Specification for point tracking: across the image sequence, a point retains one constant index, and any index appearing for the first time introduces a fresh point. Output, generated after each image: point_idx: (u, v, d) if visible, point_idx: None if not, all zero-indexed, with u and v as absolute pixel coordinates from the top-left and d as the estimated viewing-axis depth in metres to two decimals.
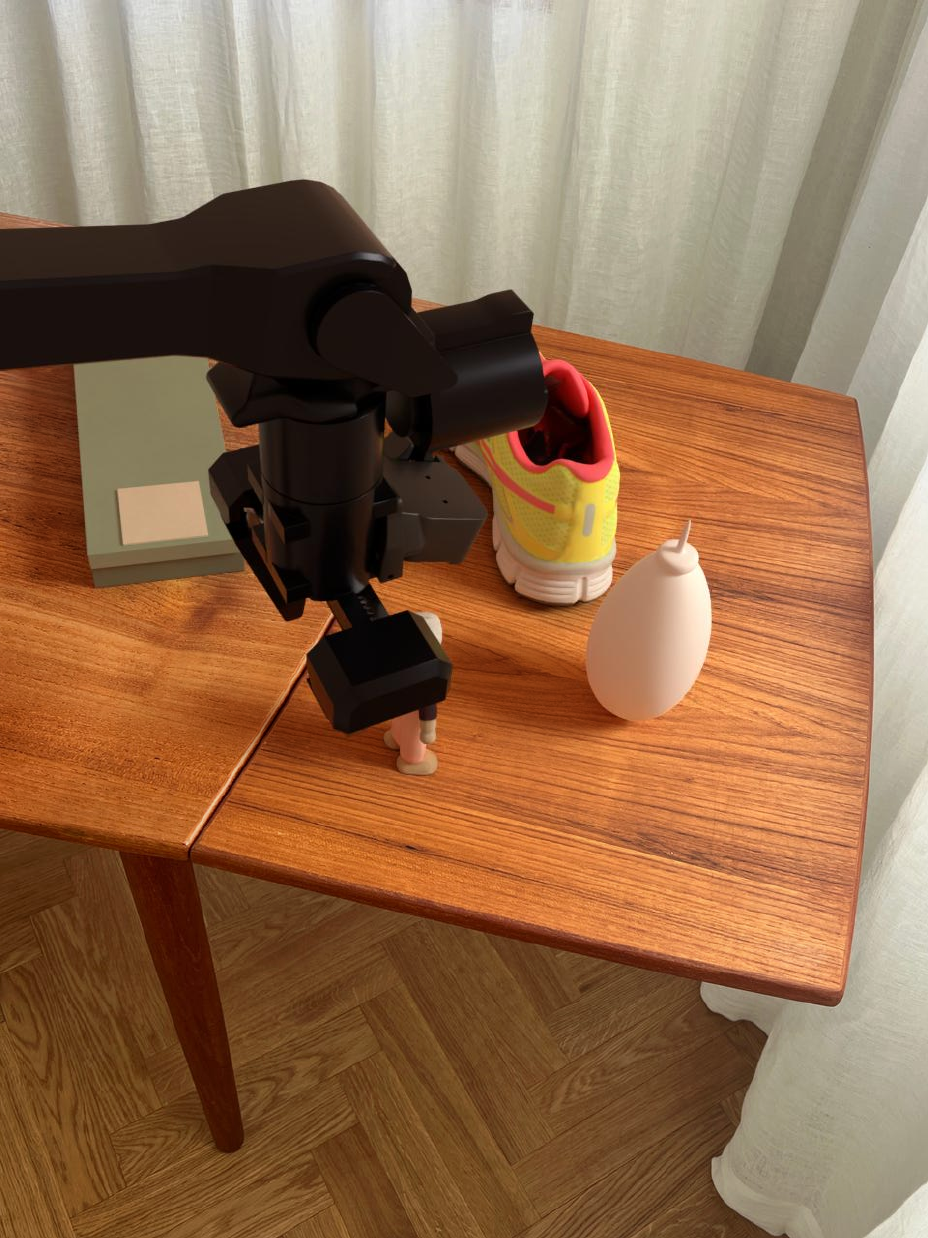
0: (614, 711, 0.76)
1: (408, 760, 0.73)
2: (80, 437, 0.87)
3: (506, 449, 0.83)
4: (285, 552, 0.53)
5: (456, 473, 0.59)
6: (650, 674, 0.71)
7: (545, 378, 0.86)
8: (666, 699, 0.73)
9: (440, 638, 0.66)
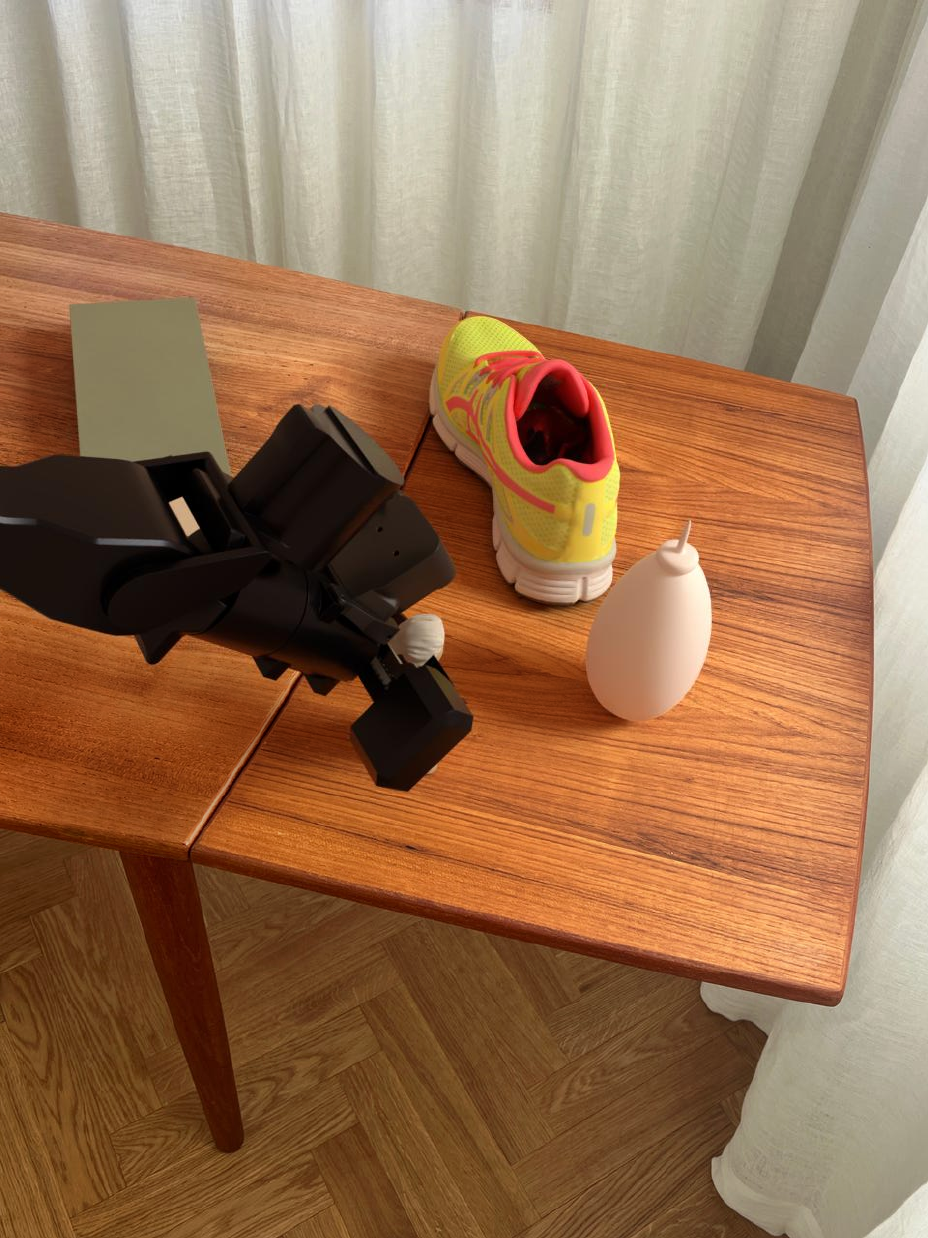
0: (614, 711, 0.76)
1: None
2: (80, 437, 0.87)
3: (506, 448, 0.83)
4: None
5: (408, 503, 0.60)
6: (650, 675, 0.71)
7: (545, 378, 0.86)
8: (666, 699, 0.73)
9: (442, 640, 0.66)
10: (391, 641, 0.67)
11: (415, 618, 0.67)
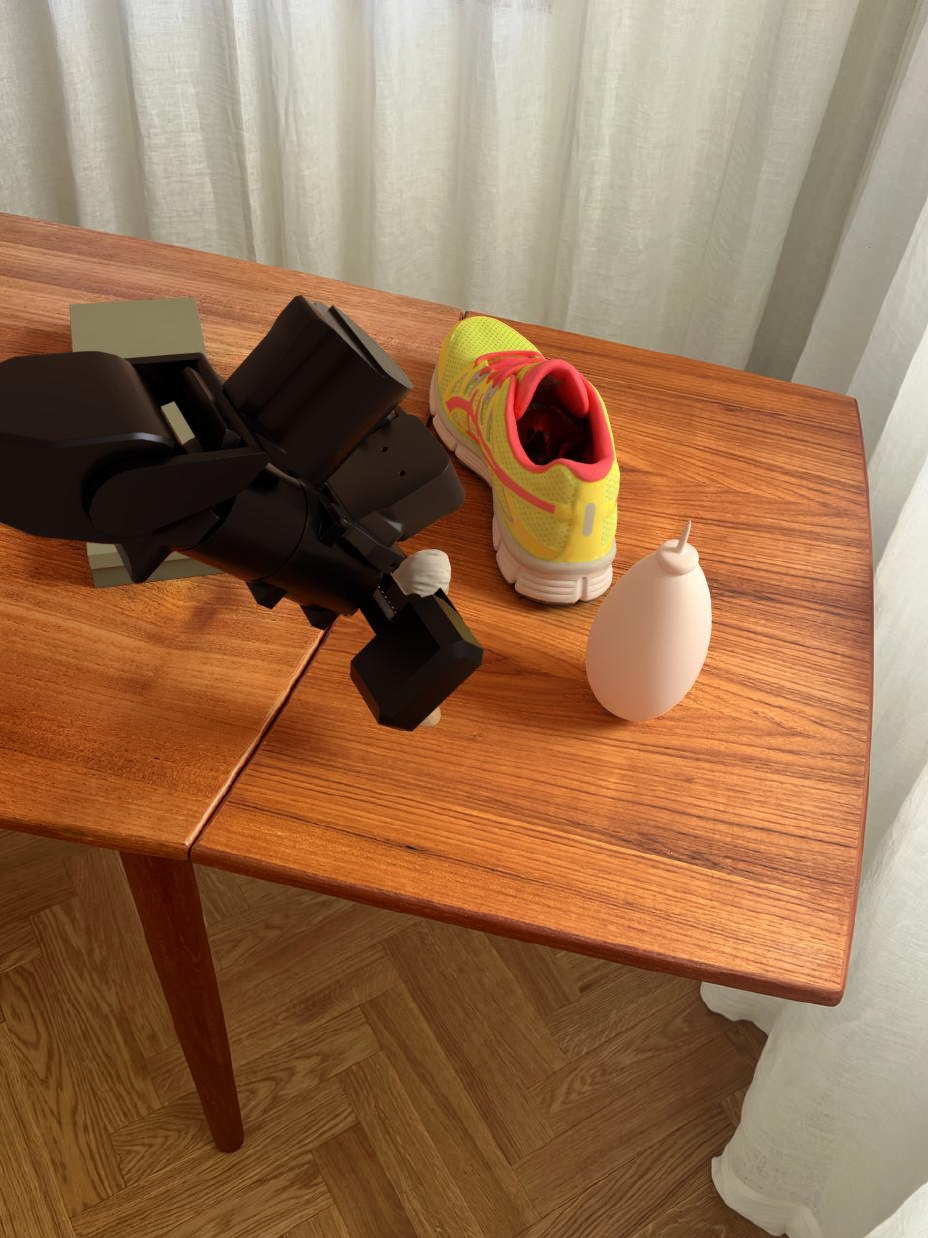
0: (614, 711, 0.76)
1: None
2: None
3: (506, 448, 0.83)
4: None
5: (415, 422, 0.56)
6: (650, 675, 0.71)
7: (545, 378, 0.86)
8: (666, 699, 0.73)
9: (449, 577, 0.62)
10: None
11: (420, 553, 0.62)
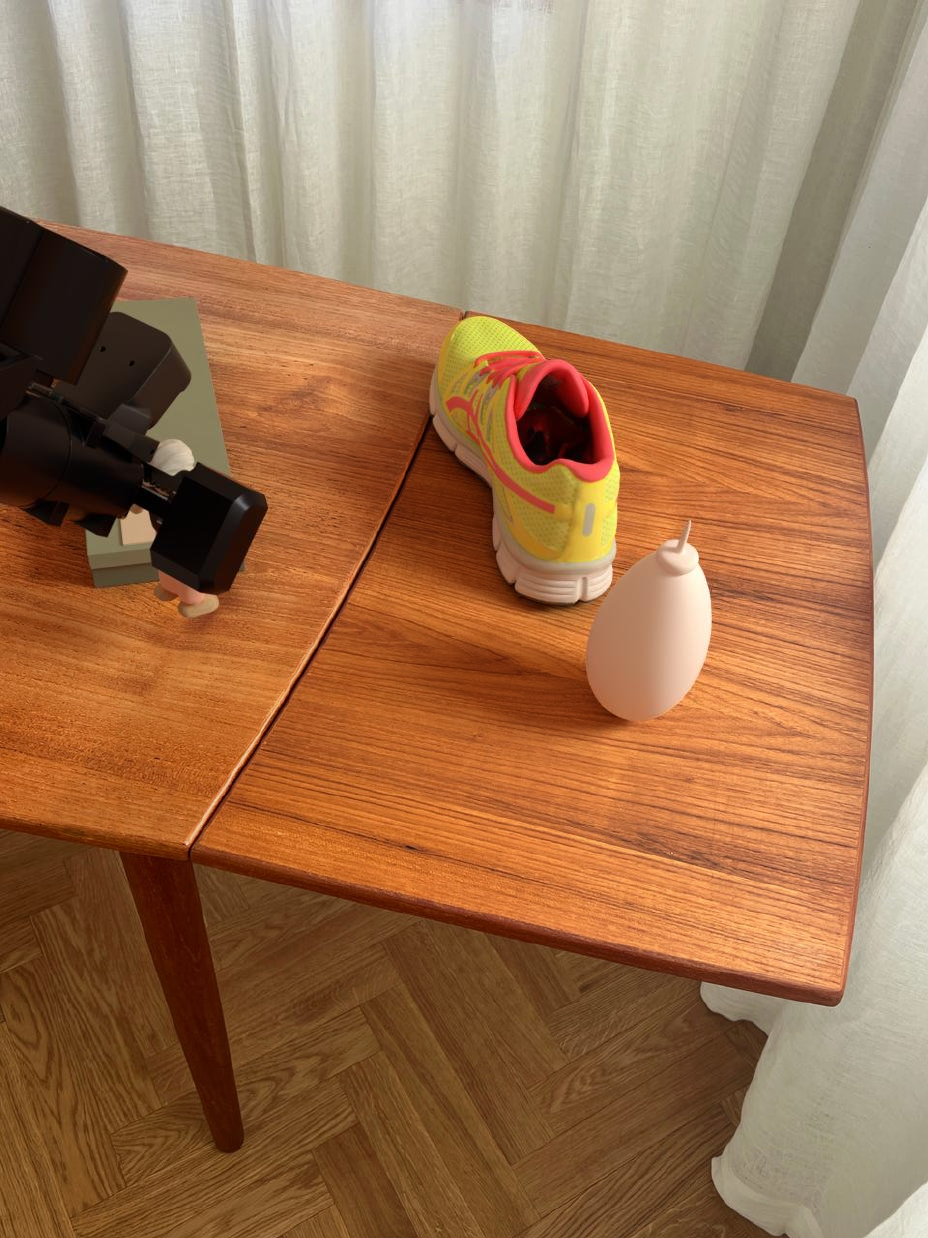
0: (614, 711, 0.76)
1: (191, 602, 0.73)
2: None
3: (506, 448, 0.83)
4: (68, 517, 0.59)
5: (120, 316, 0.59)
6: (650, 675, 0.71)
7: (545, 378, 0.86)
8: (666, 699, 0.73)
9: (192, 457, 0.66)
10: None
11: None
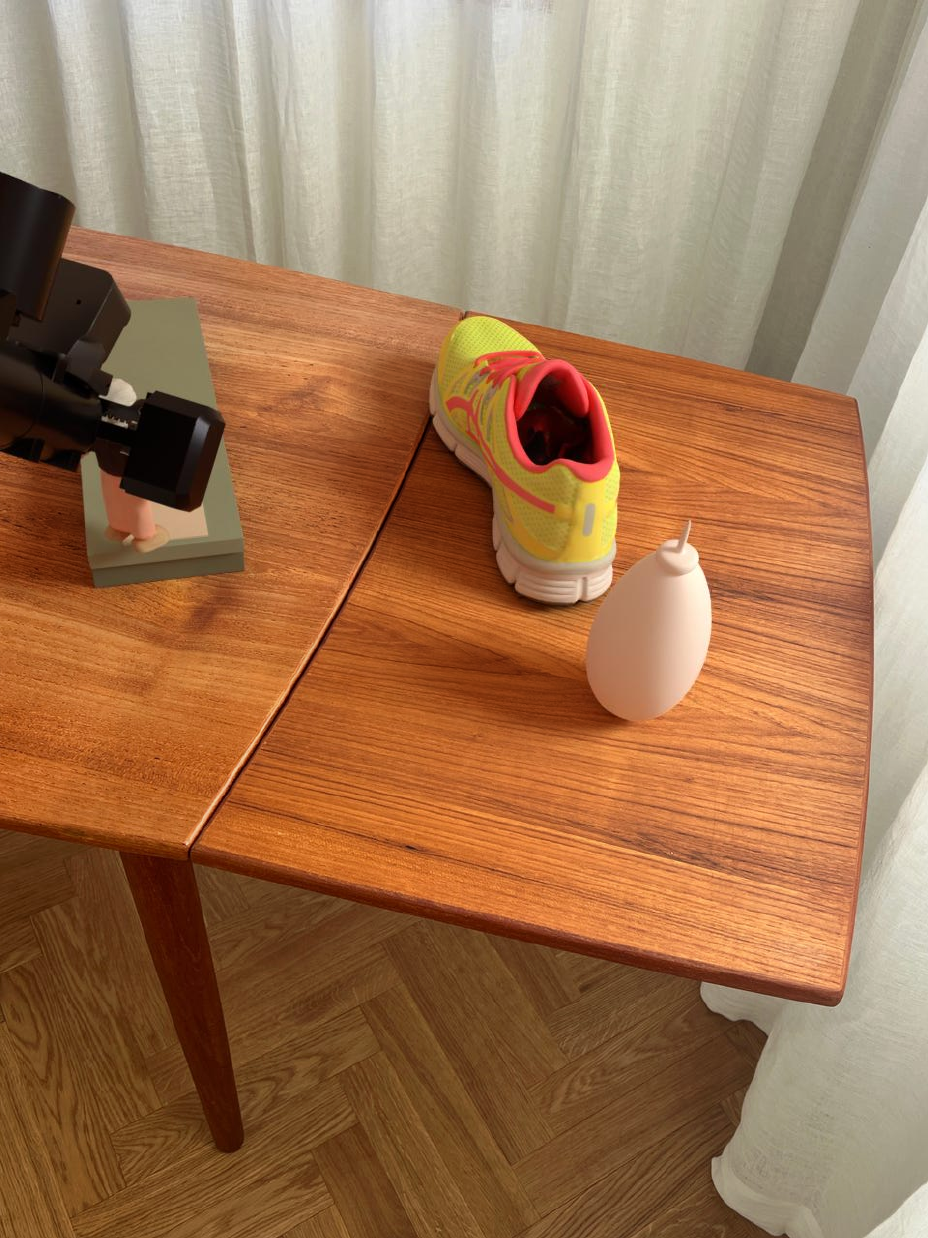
0: (614, 711, 0.76)
1: (145, 537, 0.76)
2: None
3: (506, 448, 0.83)
4: None
5: None
6: (650, 675, 0.71)
7: (545, 378, 0.86)
8: (666, 699, 0.73)
9: None
10: None
11: None
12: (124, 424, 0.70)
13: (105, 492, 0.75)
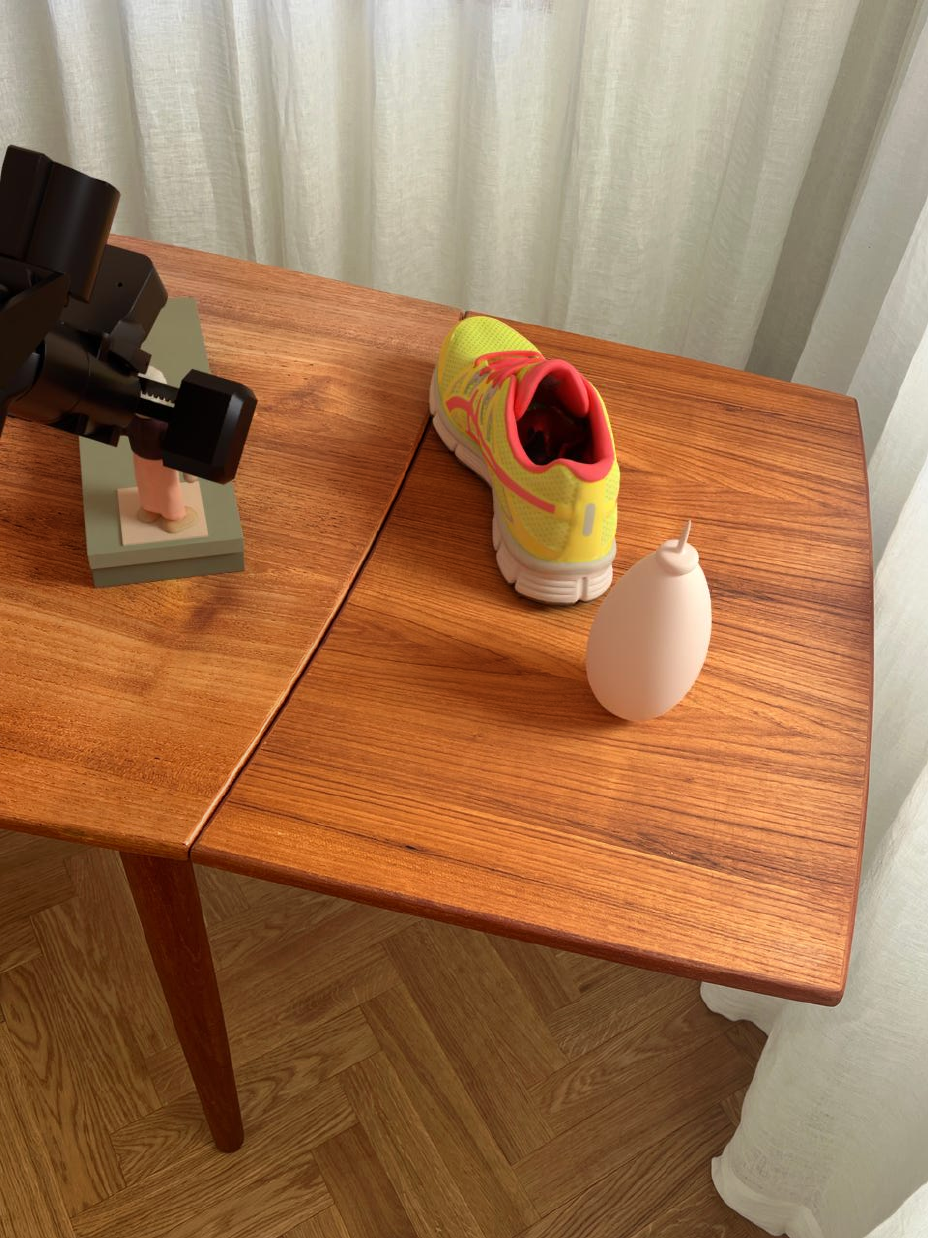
0: (614, 711, 0.76)
1: (175, 517, 0.80)
2: (80, 437, 0.87)
3: (506, 448, 0.83)
4: None
5: None
6: (650, 675, 0.71)
7: (545, 378, 0.86)
8: (666, 699, 0.73)
9: (165, 379, 0.73)
10: None
11: None
12: None
13: (137, 475, 0.79)
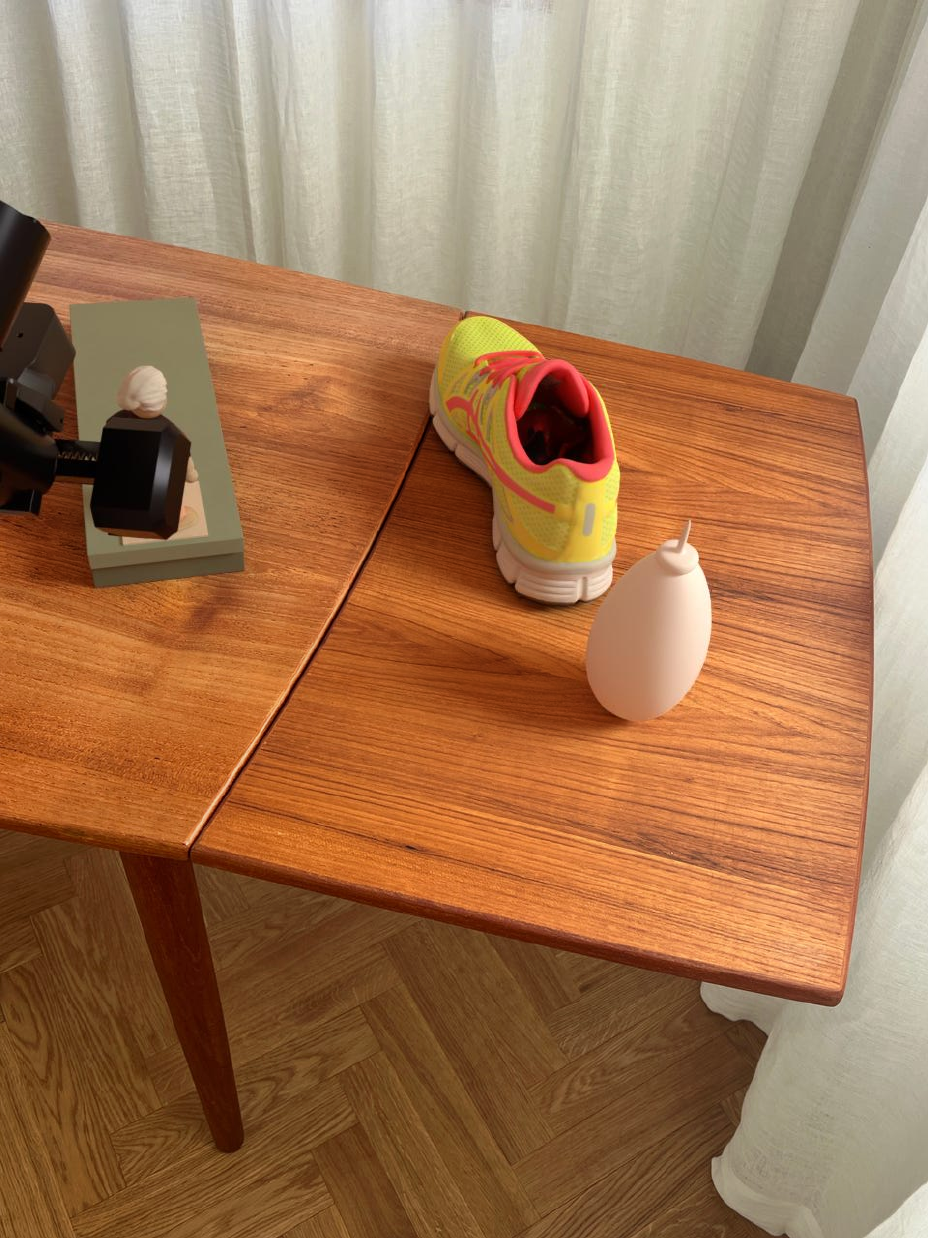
0: (614, 711, 0.76)
1: None
2: (80, 437, 0.87)
3: (506, 448, 0.83)
4: None
5: None
6: (650, 675, 0.71)
7: (545, 378, 0.86)
8: (666, 699, 0.73)
9: (165, 379, 0.73)
10: (122, 402, 0.73)
11: (131, 373, 0.73)
12: (155, 409, 0.73)
13: None
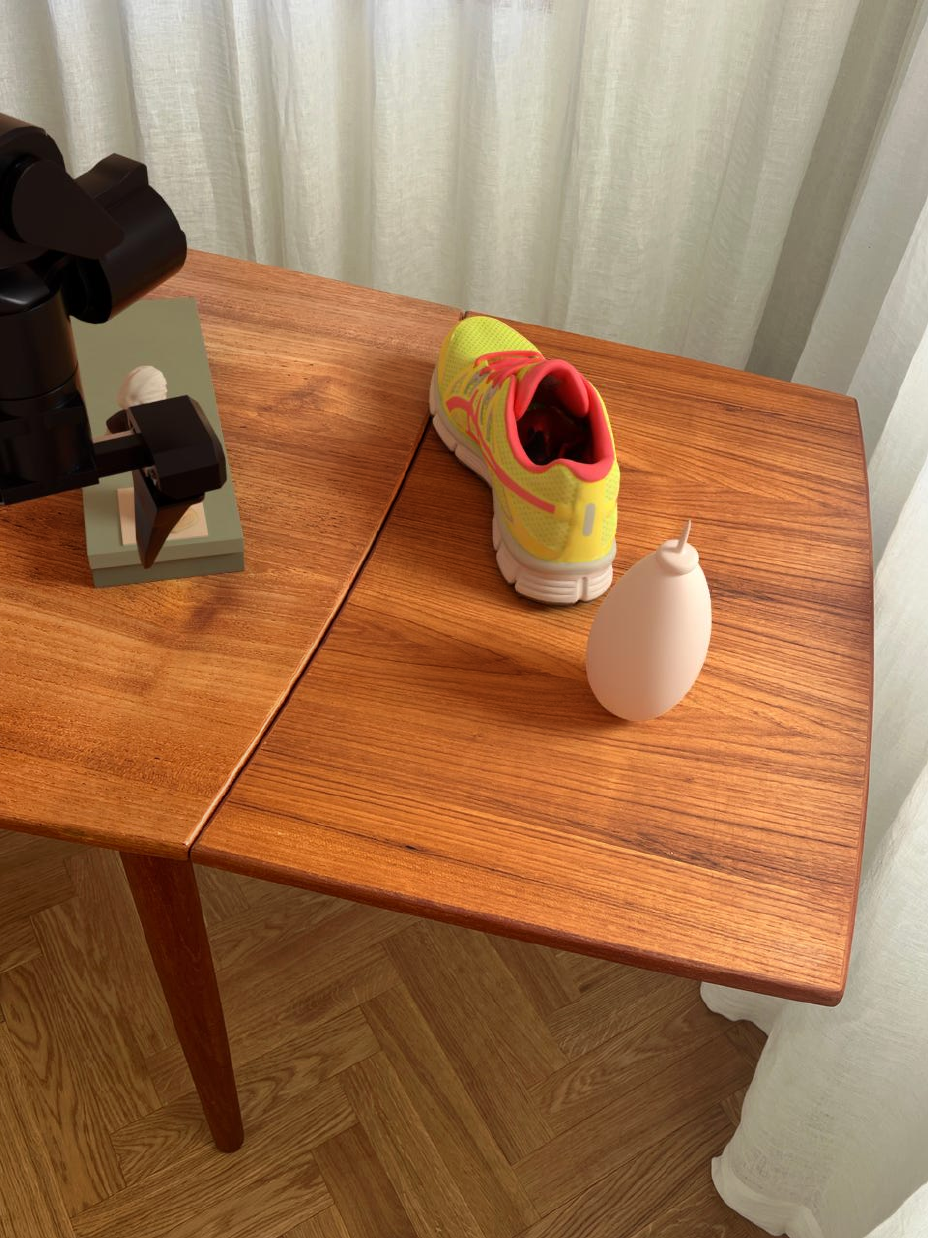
0: (614, 711, 0.76)
1: None
2: None
3: (506, 448, 0.83)
4: (71, 446, 0.56)
5: None
6: (650, 675, 0.71)
7: (545, 378, 0.86)
8: (666, 699, 0.73)
9: (165, 379, 0.73)
10: (122, 402, 0.73)
11: (131, 373, 0.73)
12: None
13: None
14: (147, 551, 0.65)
